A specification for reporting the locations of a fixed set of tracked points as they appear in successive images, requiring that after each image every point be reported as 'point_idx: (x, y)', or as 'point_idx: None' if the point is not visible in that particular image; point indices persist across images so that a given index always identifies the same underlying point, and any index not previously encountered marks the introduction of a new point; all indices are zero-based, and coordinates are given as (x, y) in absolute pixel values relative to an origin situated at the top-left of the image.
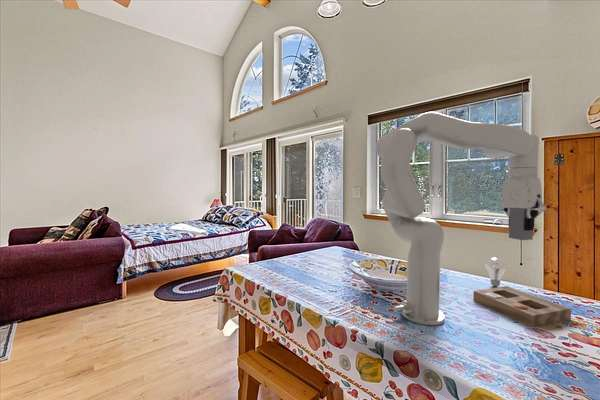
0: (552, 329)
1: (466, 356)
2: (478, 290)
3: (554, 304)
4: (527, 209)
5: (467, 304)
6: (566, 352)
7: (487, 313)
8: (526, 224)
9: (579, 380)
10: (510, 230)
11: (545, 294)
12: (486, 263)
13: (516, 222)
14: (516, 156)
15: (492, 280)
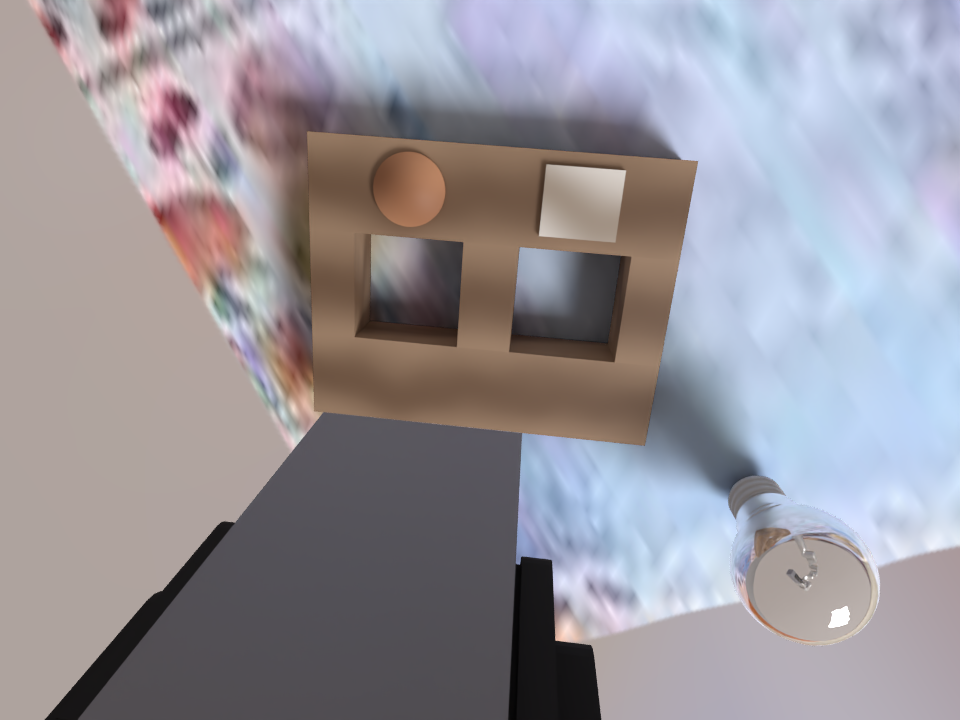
0: (289, 203)
1: None
2: (684, 199)
3: (370, 392)
4: None
5: (657, 58)
6: (128, 21)
7: (519, 57)
8: (161, 594)
9: None
10: (493, 495)
11: (553, 592)
12: (860, 543)
13: (336, 599)
14: None
15: (767, 488)
